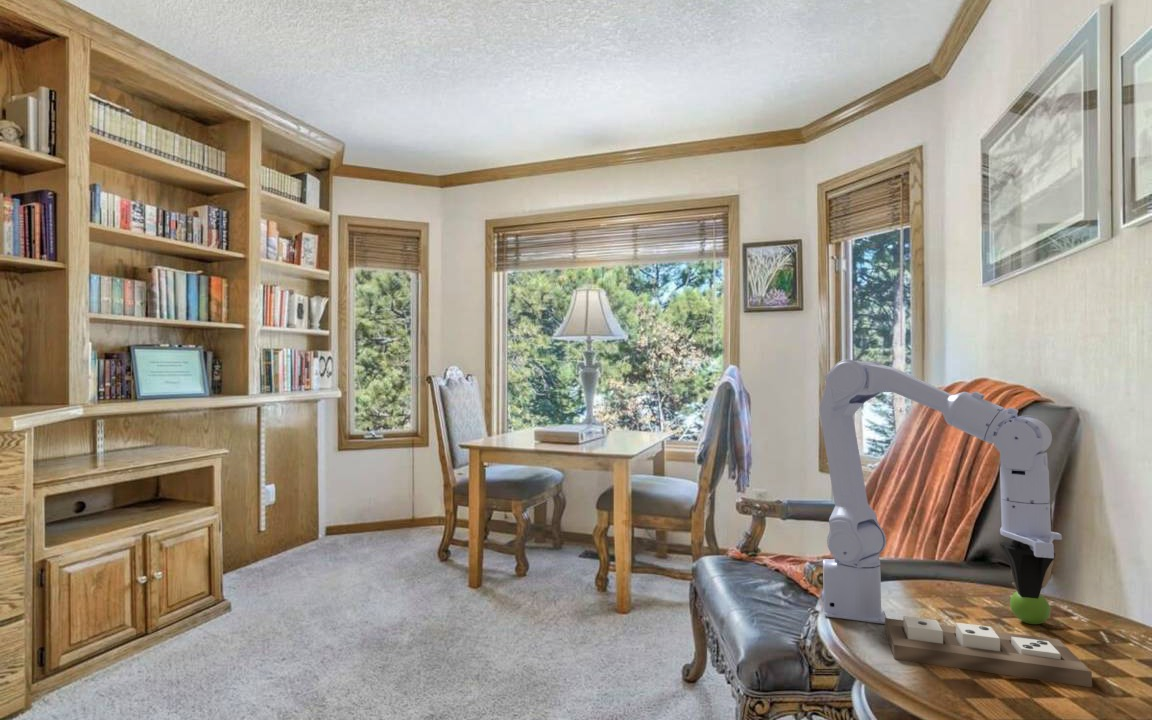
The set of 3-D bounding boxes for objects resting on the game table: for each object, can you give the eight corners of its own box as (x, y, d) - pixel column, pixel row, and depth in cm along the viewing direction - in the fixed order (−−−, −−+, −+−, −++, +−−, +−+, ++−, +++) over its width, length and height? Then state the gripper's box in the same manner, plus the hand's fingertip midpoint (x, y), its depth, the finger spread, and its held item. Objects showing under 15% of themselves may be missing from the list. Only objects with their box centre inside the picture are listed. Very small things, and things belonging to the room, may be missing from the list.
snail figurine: (1065, 631, 97) (1062, 555, 97) (1020, 628, 98) (1017, 553, 99) (1046, 618, 102) (1043, 547, 103) (1004, 616, 103) (1001, 545, 104)
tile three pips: (1021, 667, 84) (1021, 648, 84) (1011, 653, 88) (1011, 635, 88) (1061, 672, 82) (1060, 653, 82) (1049, 658, 86) (1048, 640, 86)
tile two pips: (963, 651, 86) (962, 633, 86) (956, 639, 90) (955, 621, 91) (1000, 656, 85) (999, 637, 85) (991, 643, 89) (990, 626, 89)
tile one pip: (908, 644, 89) (907, 626, 89) (903, 632, 93) (903, 615, 93) (943, 648, 87) (942, 630, 87) (937, 636, 91) (936, 619, 92)
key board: (894, 658, 87) (894, 644, 87) (885, 630, 97) (885, 618, 97) (1092, 687, 78) (1091, 671, 78) (1059, 653, 88) (1058, 639, 89)
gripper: (1080, 511, 78) (1084, 618, 78) (1040, 494, 92) (1043, 584, 91) (1015, 508, 81) (1019, 610, 80) (985, 491, 94) (988, 579, 94)
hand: (1028, 596), depth 86 cm, fingers closed
